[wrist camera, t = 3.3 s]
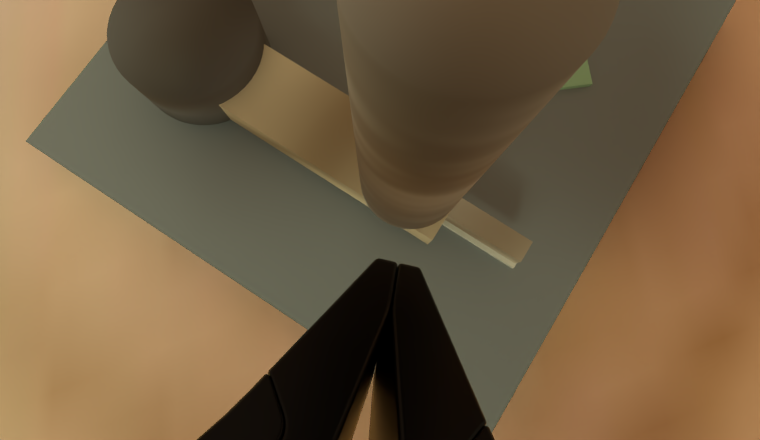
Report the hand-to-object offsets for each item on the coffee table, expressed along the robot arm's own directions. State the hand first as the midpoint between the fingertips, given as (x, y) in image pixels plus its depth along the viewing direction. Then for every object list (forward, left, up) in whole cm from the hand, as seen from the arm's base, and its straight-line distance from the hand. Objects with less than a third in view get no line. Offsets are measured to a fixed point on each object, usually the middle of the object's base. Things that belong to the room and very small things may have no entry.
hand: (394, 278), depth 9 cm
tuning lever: (+3, +4, -6) cm, 8 cm away
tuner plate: (+6, +4, -7) cm, 10 cm away
